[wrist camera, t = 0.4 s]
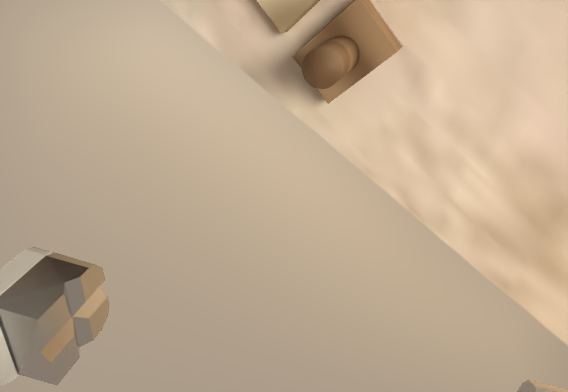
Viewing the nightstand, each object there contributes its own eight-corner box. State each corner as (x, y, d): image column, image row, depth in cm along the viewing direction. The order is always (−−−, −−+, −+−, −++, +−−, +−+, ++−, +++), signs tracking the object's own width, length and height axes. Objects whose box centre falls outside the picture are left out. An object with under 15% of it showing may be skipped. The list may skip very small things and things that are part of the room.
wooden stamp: (336, 96, 45) (306, 123, 39) (302, 50, 45) (266, 71, 38) (403, 45, 41) (381, 67, 34) (366, -7, 40) (337, 6, 34)
